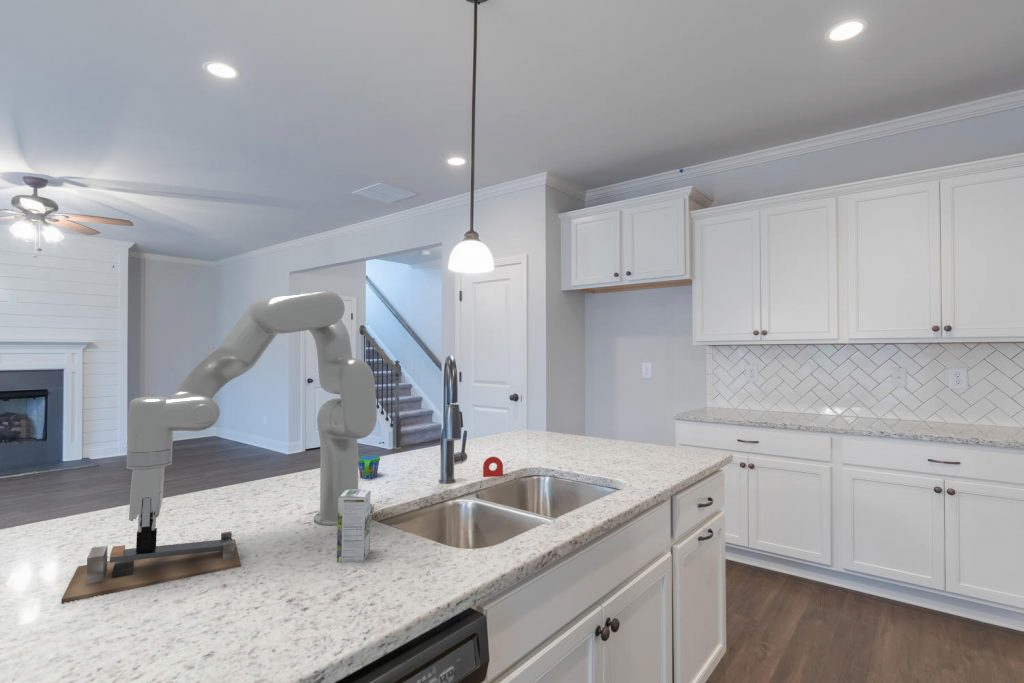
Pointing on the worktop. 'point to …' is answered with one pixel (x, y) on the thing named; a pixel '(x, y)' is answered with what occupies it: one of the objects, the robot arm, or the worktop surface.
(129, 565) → the latch board
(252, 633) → the worktop surface
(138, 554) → the strap
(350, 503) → the syrup box
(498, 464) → the bracket
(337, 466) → the robot arm
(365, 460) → the snack cup
